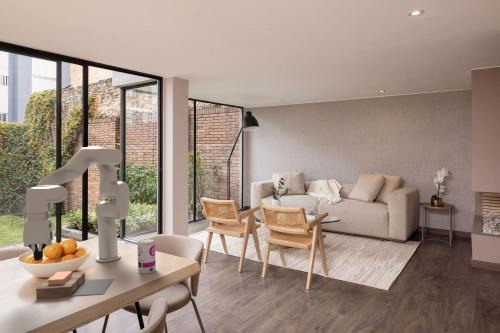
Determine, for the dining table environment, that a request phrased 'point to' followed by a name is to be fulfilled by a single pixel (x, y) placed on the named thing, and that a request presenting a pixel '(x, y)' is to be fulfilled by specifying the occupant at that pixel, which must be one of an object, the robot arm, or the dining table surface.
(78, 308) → the dining table surface
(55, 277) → the peach rectangular tile
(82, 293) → the mat
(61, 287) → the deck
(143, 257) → the supplement can
